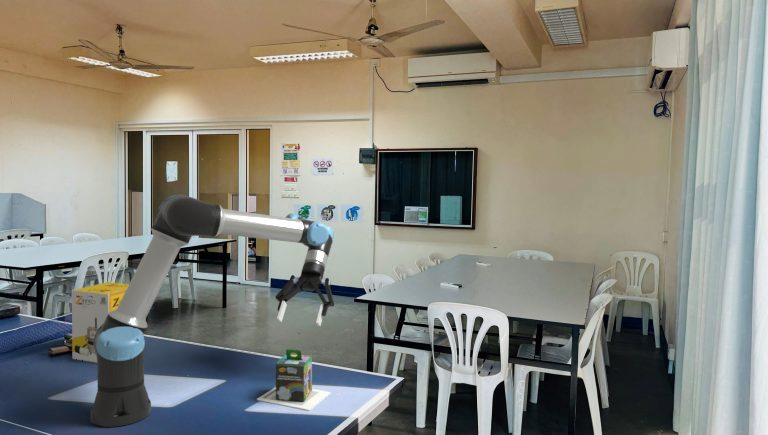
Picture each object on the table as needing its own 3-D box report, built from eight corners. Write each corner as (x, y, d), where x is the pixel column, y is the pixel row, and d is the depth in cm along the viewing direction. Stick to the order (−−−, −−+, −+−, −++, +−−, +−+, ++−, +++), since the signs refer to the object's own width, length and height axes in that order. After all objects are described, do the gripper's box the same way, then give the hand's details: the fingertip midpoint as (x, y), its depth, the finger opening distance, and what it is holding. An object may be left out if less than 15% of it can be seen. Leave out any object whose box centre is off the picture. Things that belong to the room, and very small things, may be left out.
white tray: (309, 410, 155) (309, 409, 155) (256, 400, 161) (256, 398, 161) (331, 393, 168) (331, 392, 168) (281, 383, 174) (281, 382, 174)
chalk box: (312, 390, 169) (313, 344, 167) (304, 402, 159) (305, 354, 158) (284, 388, 170) (284, 342, 169) (274, 400, 161) (275, 352, 160)
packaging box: (72, 359, 192) (71, 290, 190) (107, 345, 207) (107, 282, 205) (108, 364, 187) (108, 294, 185) (142, 350, 202) (142, 285, 201)
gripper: (351, 273, 185) (337, 330, 174) (284, 268, 191) (267, 323, 180) (346, 262, 179) (332, 321, 168) (277, 258, 185) (259, 314, 174)
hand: (298, 322), depth 174 cm, fingers open, 13 cm apart
